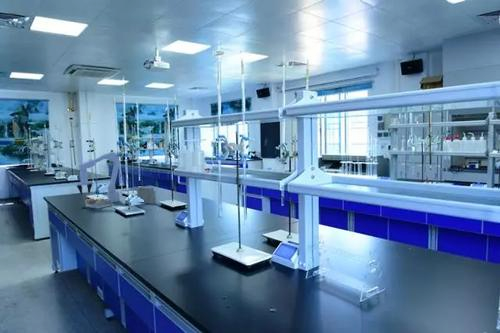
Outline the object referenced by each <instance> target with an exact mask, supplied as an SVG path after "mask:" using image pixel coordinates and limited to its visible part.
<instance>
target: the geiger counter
mask: <svg viewBox="0 0 500 333" xmlns="http://www.w3.org/2000/svg"><path fill="white" fill-rule="evenodd" d="M134 194H135V195H136V194H137V198H138V197H140V198H141V199H143V200H144V202H145V203H144V204H150V205H155V204H156V203H157V199H156V190H154V188H153V187H147V186H142V185H141V186H140V185H139V186H137V191H136V192H135V193H134Z"/></svg>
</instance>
